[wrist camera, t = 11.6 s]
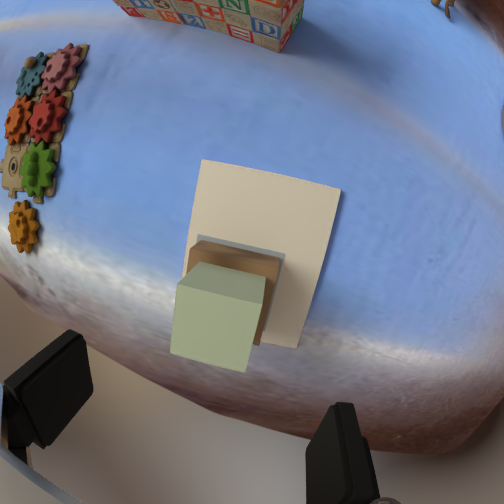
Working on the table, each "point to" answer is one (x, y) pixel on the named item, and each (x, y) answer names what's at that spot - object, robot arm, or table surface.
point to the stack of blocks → (227, 17)
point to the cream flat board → (268, 233)
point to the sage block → (217, 315)
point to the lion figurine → (449, 1)
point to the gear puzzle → (37, 134)
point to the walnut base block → (240, 269)
